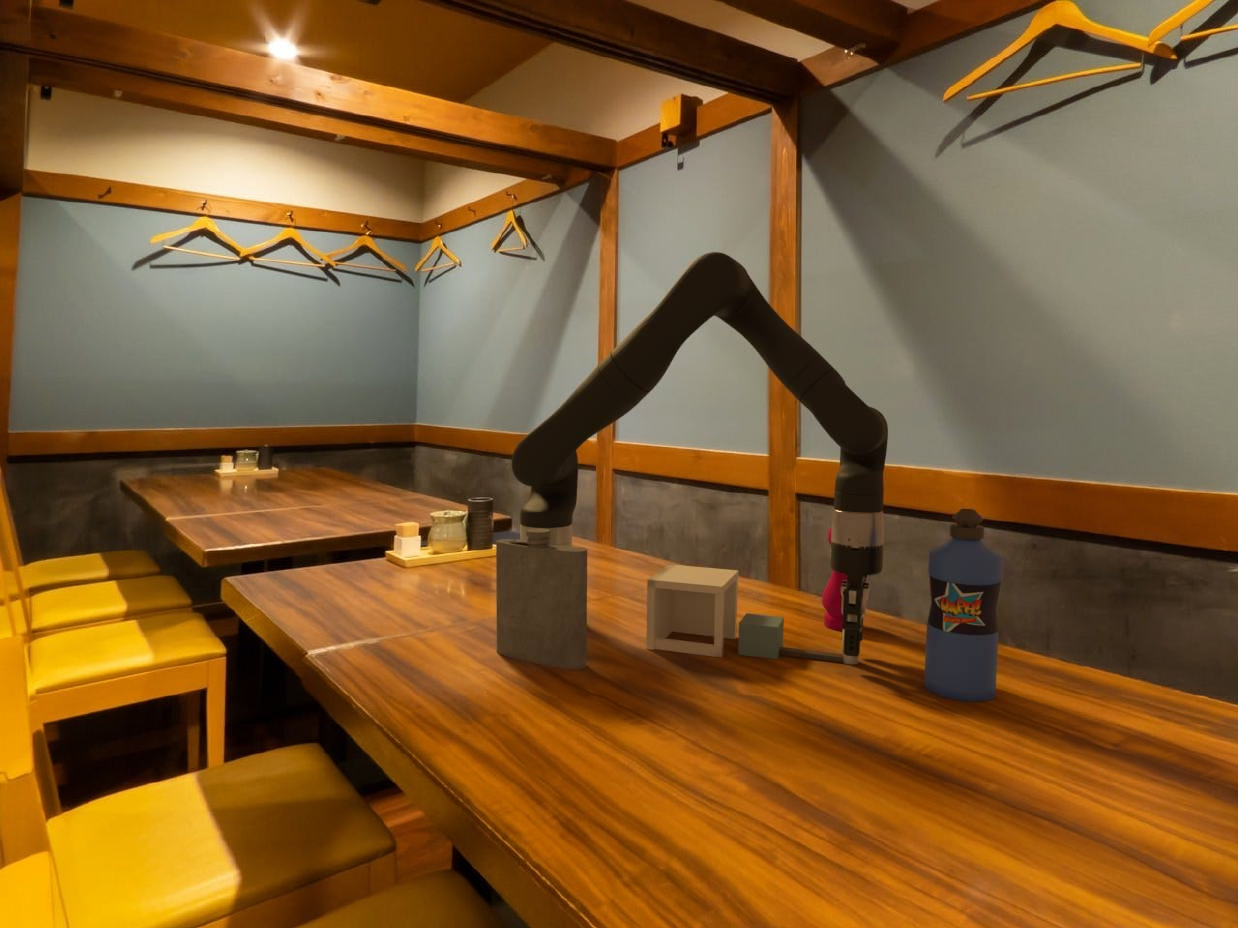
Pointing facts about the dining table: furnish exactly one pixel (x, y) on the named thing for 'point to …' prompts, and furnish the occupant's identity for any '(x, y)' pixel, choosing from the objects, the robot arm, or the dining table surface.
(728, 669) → the dining table surface
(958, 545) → the water bottle
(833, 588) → the pepper mill
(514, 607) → the hip flask
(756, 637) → the grey block with handle
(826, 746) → the dining table surface
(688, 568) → the shelf
